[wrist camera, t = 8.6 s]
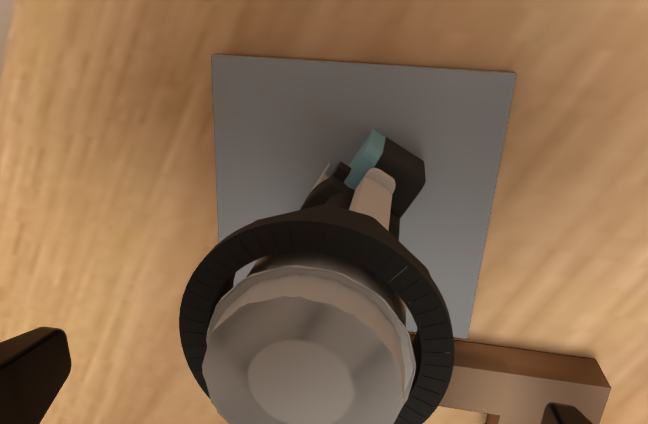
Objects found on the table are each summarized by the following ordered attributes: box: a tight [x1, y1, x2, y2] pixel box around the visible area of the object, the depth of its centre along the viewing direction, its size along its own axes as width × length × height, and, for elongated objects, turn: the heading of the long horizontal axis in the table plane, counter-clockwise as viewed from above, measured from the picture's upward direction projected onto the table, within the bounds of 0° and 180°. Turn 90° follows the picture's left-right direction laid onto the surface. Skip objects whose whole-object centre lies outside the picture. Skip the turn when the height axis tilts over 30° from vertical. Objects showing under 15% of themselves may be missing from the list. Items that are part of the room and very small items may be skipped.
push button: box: [179, 129, 455, 424], centre depth 13 cm, size 7×5×10 cm
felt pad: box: [211, 54, 517, 339], centre depth 18 cm, size 10×10×1 cm
